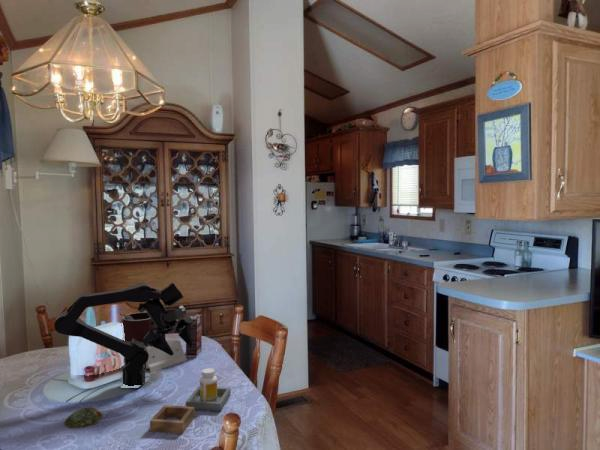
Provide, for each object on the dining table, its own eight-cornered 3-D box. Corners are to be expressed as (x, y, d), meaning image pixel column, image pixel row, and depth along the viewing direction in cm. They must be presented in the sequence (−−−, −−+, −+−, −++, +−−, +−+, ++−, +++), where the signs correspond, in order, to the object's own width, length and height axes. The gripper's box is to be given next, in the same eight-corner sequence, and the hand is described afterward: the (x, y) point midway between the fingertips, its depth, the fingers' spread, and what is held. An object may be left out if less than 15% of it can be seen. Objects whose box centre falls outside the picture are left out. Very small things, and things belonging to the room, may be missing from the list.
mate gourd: (144, 348, 184) (144, 303, 183) (164, 355, 176) (164, 308, 175) (111, 359, 172) (110, 310, 171) (131, 367, 164) (130, 316, 162)
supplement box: (197, 357, 174) (197, 319, 173) (185, 357, 174) (185, 319, 173) (202, 350, 183) (202, 314, 182) (191, 350, 183) (190, 313, 182)
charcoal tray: (185, 409, 131) (185, 401, 131) (198, 393, 142) (198, 386, 142) (220, 411, 130) (220, 403, 129) (230, 395, 141) (230, 388, 140)
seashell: (90, 396, 131) (108, 405, 125) (92, 408, 131) (110, 418, 125) (56, 411, 123) (74, 422, 117) (58, 424, 123) (76, 436, 117)
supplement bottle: (220, 397, 138) (220, 368, 137) (212, 405, 132) (212, 374, 132) (205, 395, 139) (205, 366, 139) (196, 402, 134) (196, 372, 133)
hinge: (149, 372, 159) (144, 345, 161) (143, 373, 162) (138, 347, 164) (187, 359, 172) (182, 335, 173) (181, 361, 175) (176, 336, 176)
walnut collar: (150, 431, 118) (150, 420, 118) (164, 414, 128) (164, 404, 127) (182, 433, 117) (182, 423, 117) (194, 416, 127) (194, 406, 126)
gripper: (148, 306, 137) (174, 345, 133) (189, 294, 154) (213, 329, 149) (132, 326, 142) (156, 365, 137) (173, 313, 158) (196, 347, 153)
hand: (182, 350), depth 144 cm, fingers open, 9 cm apart
